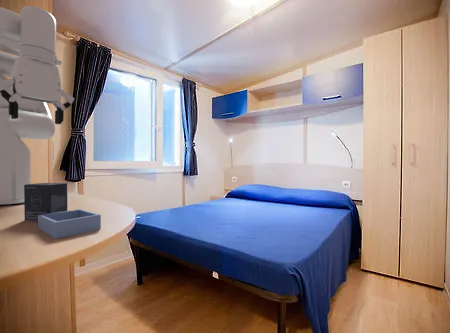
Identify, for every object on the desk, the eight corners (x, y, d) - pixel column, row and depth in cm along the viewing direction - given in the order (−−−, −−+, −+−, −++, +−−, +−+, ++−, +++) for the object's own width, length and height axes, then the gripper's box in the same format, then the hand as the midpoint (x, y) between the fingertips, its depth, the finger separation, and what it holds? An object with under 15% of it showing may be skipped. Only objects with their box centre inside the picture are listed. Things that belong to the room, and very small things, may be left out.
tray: (38, 229, 55) (37, 215, 55) (80, 222, 62) (80, 209, 62) (55, 239, 48) (55, 222, 48) (100, 229, 56) (100, 214, 56)
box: (68, 220, 64) (68, 182, 64) (49, 226, 58) (49, 184, 58) (44, 219, 65) (43, 182, 65) (23, 224, 60) (23, 183, 60)
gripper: (69, 71, 72) (67, 126, 73) (-9, 48, 58) (-10, 117, 59) (79, 66, 68) (78, 125, 68) (-3, 41, 54) (-3, 115, 55)
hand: (37, 121), depth 64 cm, fingers open, 9 cm apart
